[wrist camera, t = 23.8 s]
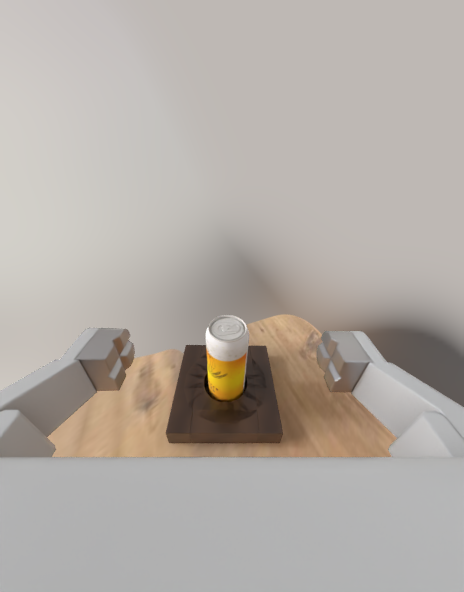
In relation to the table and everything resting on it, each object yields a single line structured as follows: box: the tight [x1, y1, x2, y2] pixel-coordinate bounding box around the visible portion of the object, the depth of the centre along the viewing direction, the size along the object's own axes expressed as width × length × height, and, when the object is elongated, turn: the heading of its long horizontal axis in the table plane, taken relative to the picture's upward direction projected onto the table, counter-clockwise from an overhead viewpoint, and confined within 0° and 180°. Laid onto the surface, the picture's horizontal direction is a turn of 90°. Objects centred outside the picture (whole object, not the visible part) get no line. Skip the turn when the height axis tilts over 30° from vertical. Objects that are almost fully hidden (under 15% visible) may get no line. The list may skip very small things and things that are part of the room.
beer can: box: [206, 315, 249, 402], centre depth 33 cm, size 6×6×15 cm
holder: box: [166, 345, 283, 443], centre depth 36 cm, size 16×16×3 cm
